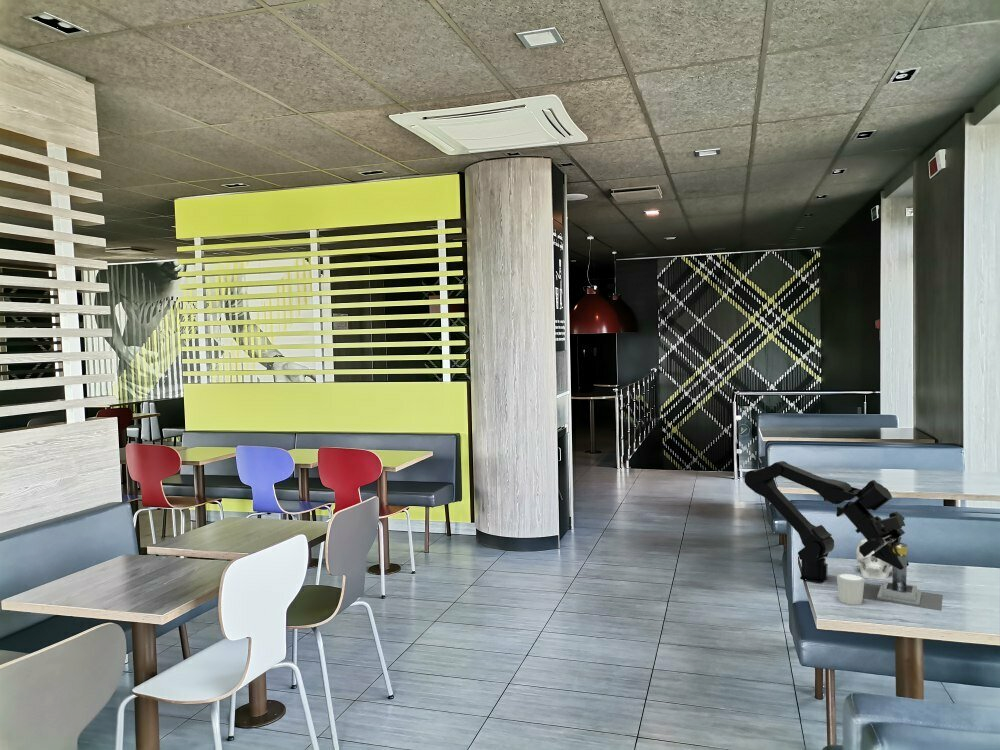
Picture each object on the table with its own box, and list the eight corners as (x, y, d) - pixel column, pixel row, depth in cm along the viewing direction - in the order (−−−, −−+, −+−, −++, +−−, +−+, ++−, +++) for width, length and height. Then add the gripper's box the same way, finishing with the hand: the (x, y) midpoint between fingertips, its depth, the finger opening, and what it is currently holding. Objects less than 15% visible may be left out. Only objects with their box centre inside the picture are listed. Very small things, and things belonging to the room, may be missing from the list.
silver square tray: (877, 599, 198) (877, 589, 198) (880, 588, 206) (880, 579, 206) (919, 605, 193) (919, 596, 193) (921, 594, 201) (921, 585, 201)
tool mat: (848, 597, 201) (848, 595, 201) (854, 583, 213) (854, 581, 213) (941, 612, 189) (941, 610, 189) (942, 596, 201) (942, 594, 201)
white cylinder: (837, 605, 195) (837, 579, 195) (835, 596, 202) (835, 571, 201) (866, 608, 193) (866, 581, 192) (862, 599, 199) (863, 574, 199)
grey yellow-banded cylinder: (893, 592, 198) (894, 545, 198) (890, 588, 202) (891, 541, 201) (907, 593, 197) (908, 546, 197) (904, 589, 201) (905, 542, 200)
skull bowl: (853, 574, 216) (855, 535, 221) (856, 588, 226) (858, 550, 232) (893, 579, 211) (894, 539, 216) (894, 593, 221) (895, 554, 227)
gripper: (872, 508, 195) (916, 558, 188) (897, 498, 208) (940, 544, 200) (841, 532, 201) (883, 581, 194) (868, 520, 214) (908, 566, 206)
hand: (905, 567), depth 198 cm, fingers closed on grey yellow-banded cylinder, 3 cm apart
